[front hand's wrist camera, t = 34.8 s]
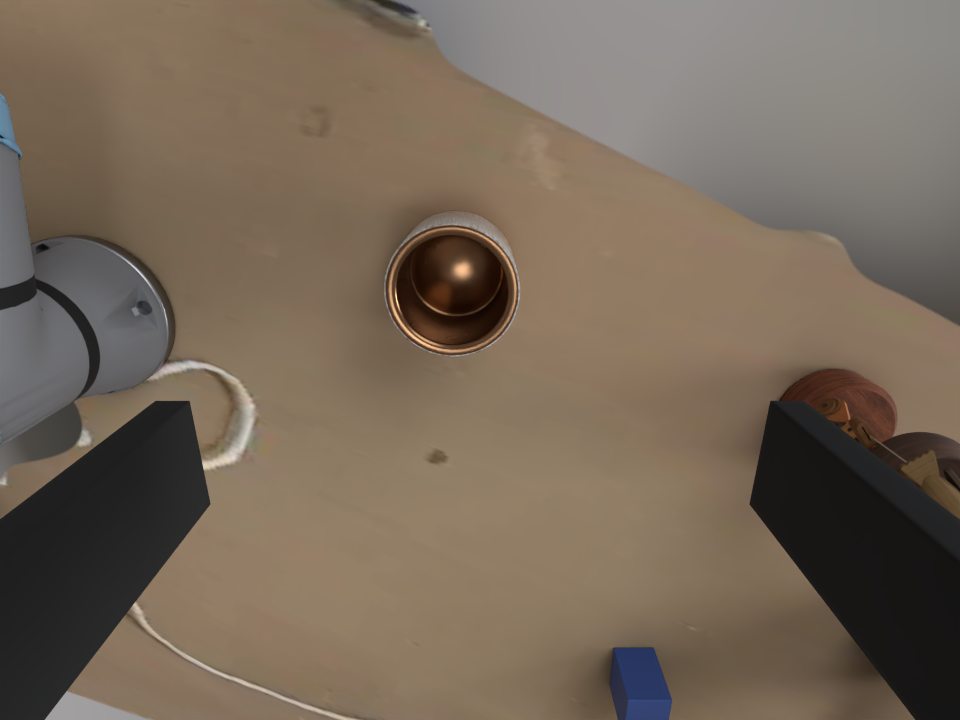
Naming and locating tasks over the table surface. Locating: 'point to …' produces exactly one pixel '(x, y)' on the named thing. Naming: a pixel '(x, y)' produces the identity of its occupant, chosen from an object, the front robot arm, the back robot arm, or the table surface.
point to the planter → (452, 284)
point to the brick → (639, 685)
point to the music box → (884, 431)
